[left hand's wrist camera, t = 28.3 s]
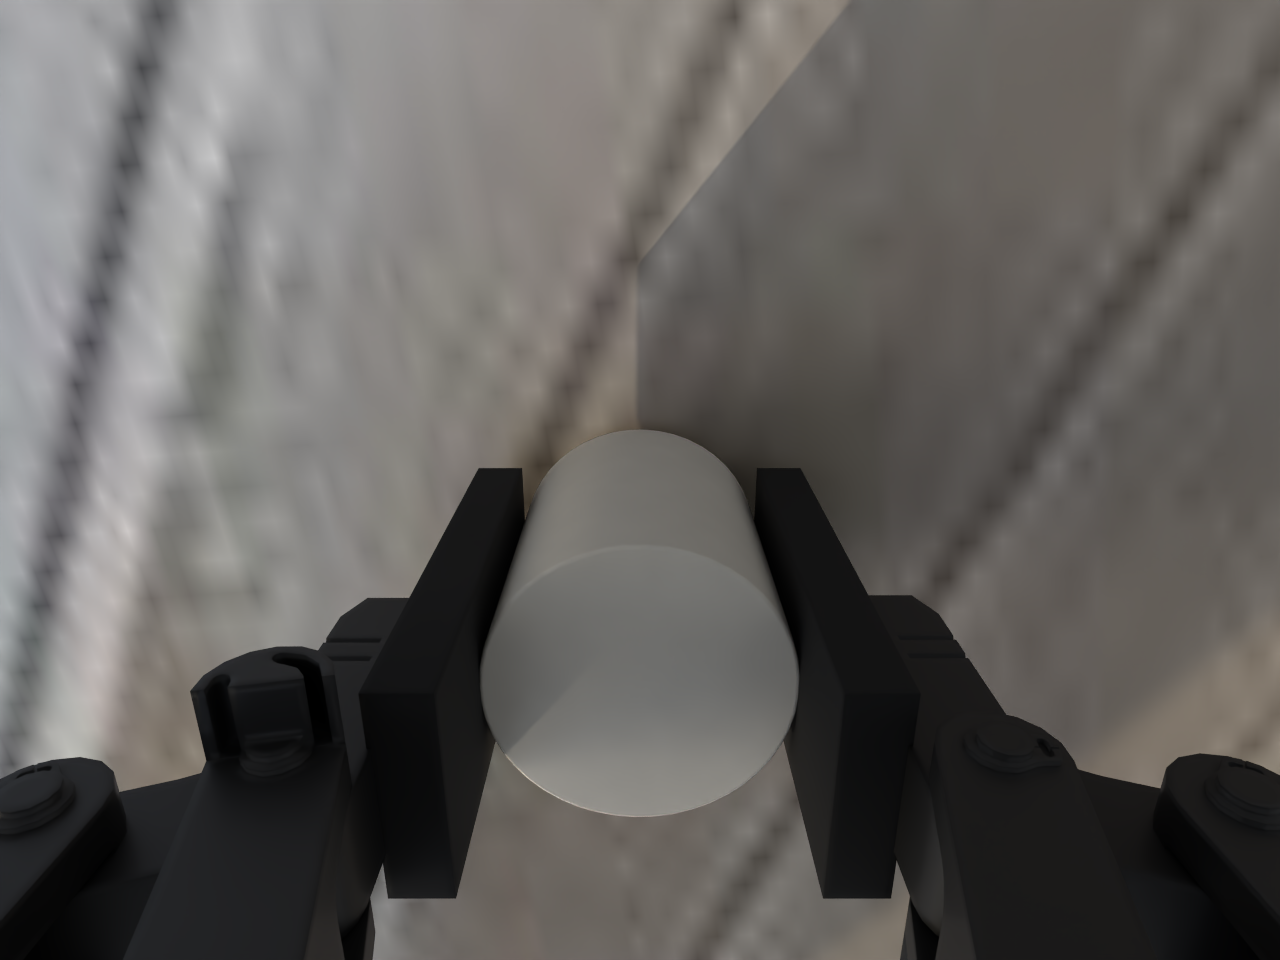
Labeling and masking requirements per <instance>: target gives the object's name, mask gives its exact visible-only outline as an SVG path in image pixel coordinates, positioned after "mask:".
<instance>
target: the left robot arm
mask: <svg viewBox="0 0 1280 960" xmlns="http://www.w3.org/2000/svg"><path fill="white" fill-rule="evenodd" d="M754 522H755V525H756V528H757V532H758V535H759V538H760V541H761V544H762V547H763V550H764V553H765V556H766V559H767V562H768V565H769V568H770V571H771V574H772V577H773V580H774V583H775V586H776V589H777V592H778V595H779V598H780V601H781V604H782V607H783V610H784V613H785V616H786V619H787V622H788V625H789V628H790V631H791V635H792V638H793V641H794V644H795V648H796V652H797V655H798V661H799V670H800V678H799V692H798V701H797V708H796V712H795V715H794V718H793V720H792V723H791V726H790V728H789V731H788V732H787V734H786V736H785V738H784V744H785V748H786V752H787V756H788V760H789V764H790V768H791V772H792V776H793V780H794V784H795V788H796V792H797V796H798V800H799V804H800V808H801V812H802V816H803V820H804V824H805V828H806V832H807V836H808V840H809V844H810V848H811V852H812V856H813V860H814V864H815V868H816V872H817V876H818V880H819V884H820V888H821V892H822V896H823V898H891V894H892V887H893V881H894V874H895V867H896V860H897V862H898V865H899V867H900V870H901V873H902V876H903V878H904V881H905V884H906V886H907V889H908V892H909V894H910V900H909V907H908V913H907V919H906V926H905V932H904V938H903V945H902V951H901V958H900V960H1280V775H1278V774H1276V773H1274V772H1272V771H1270V770H1268V769H1266V768H1264V767H1262V766H1260V765H1257V764H1254V763H1251V762H1248V761H1242V760H1241V759H1236V758H1232V757H1229V756H1220V755H1210V754H1194V755H1189V756H1183V757H1178V758H1177V759H1176V760H1175V761H1174V762H1173V763H1171V764H1170V765H1169V766H1168V767H1167V768H1166V771H1165V775H1164V778H1163V782H1162V785H1161V789H1160V788H1155V787H1150V786H1146V785H1141V784H1136V783H1132V782H1127V781H1122V780H1118V779H1113V778H1108V777H1103V776H1099V775H1096V774H1092V773H1089V772H1085V771H1082V770H1078V769H1077V767H1076V764H1075V762H1074V760H1073V758H1072V757H1071V756H1070V754H1069V753H1068V752H1067V750H1066V749H1065V747H1064V746H1063V745H1062V743H1061V742H1059V741H1058V740H1057V739H1055V738H1054V737H1053V736H1051V735H1050V734H1049V733H1047V732H1046V731H1045V730H1043V729H1042V728H1040V727H1038V726H1035V725H1033V724H1031V723H1029V722H1026V721H1024V720H1022V719H1020V718H1017V717H1014V716H1009V715H1006V714H1005V712H1004V711H1003V709H1002V708H1001V706H1000V705H999V703H998V702H997V700H996V699H995V697H994V696H993V694H992V693H991V691H990V690H989V688H988V687H987V685H986V684H985V682H984V681H983V679H982V678H981V676H980V675H979V673H978V672H977V670H976V669H975V667H974V666H973V664H972V663H971V661H970V660H969V658H965V653H964V651H963V650H962V648H961V647H960V645H959V644H958V642H957V641H956V640H953V635H952V633H951V632H950V630H949V629H948V627H947V626H946V624H945V623H944V621H943V620H942V618H941V617H940V615H939V614H938V613H937V612H935V611H934V610H932V609H931V608H929V607H928V606H926V605H925V604H923V603H922V602H921V601H919V600H918V599H916V598H915V597H913V596H912V595H868V594H867V592H866V590H865V588H864V586H863V584H862V583H861V581H860V579H859V577H858V575H857V573H856V571H855V570H854V568H853V566H852V564H851V562H850V560H849V558H848V556H847V555H846V553H845V551H844V549H843V547H842V545H841V543H840V541H839V540H838V538H837V536H836V534H835V532H834V530H833V528H832V527H831V525H830V523H829V521H828V519H827V517H826V515H825V513H824V512H823V510H822V508H821V506H820V504H819V502H818V500H817V498H816V497H815V495H814V493H813V491H812V489H811V487H810V485H809V483H808V482H807V480H806V478H805V476H804V474H803V472H802V470H801V469H800V468H757V480H756V499H755V517H754ZM524 523H525V515H524V497H523V478H522V468H479V469H478V471H477V472H476V474H475V476H474V478H473V480H472V482H471V484H470V486H469V487H468V489H467V491H466V493H465V495H464V497H463V499H462V500H461V502H460V504H459V506H458V508H457V510H456V512H455V514H454V515H453V517H452V519H451V521H450V523H449V525H448V527H447V528H446V530H445V532H444V534H443V536H442V538H441V540H440V542H439V543H438V545H437V547H436V549H435V551H434V553H433V555H432V557H431V558H430V560H429V562H428V564H427V566H426V568H425V570H424V571H423V573H422V575H421V577H420V579H419V581H418V583H417V585H416V586H415V588H414V590H413V592H412V594H411V596H410V598H367V599H366V600H364V601H363V602H361V603H360V604H358V605H357V606H355V607H354V608H353V609H351V610H350V611H348V612H347V613H345V614H344V615H342V616H341V617H340V619H339V620H338V622H337V623H336V625H335V626H334V628H333V629H332V631H331V632H330V634H329V635H328V637H327V638H326V643H323V644H322V646H321V647H320V649H319V650H318V651H317V650H313V649H310V648H306V647H273V648H268V649H263V650H258V651H253V652H249V653H247V654H244V655H241V656H239V657H236V658H234V659H231V660H229V661H226V662H224V663H222V664H221V665H219V666H218V667H216V668H215V669H213V670H211V671H210V672H208V673H207V674H205V675H204V676H203V677H202V678H201V679H200V680H199V681H198V683H197V684H196V685H195V686H194V687H193V689H192V690H191V691H190V693H191V697H192V701H193V705H194V710H195V714H196V718H197V723H198V727H199V731H200V735H201V740H202V744H203V748H204V752H205V757H206V763H205V766H204V768H203V771H202V773H200V774H196V775H192V776H189V777H185V778H182V779H178V780H174V781H169V782H164V783H160V784H155V785H150V786H146V787H141V788H136V789H132V790H127V791H122V792H119V789H118V786H117V782H116V779H115V775H114V772H113V771H112V770H111V769H110V768H109V767H108V766H107V765H105V764H104V763H103V762H102V761H98V760H93V759H87V758H82V757H77V758H67V759H57V760H50V761H47V762H43V763H38V764H37V765H31V766H28V767H26V768H23V769H20V770H18V771H16V772H14V773H12V774H10V775H8V776H6V777H4V778H2V779H0V960H372V959H373V949H374V940H375V927H374V920H373V913H372V907H371V900H370V896H371V893H372V891H373V888H374V885H375V883H376V880H377V877H378V874H379V872H380V869H381V866H382V864H383V866H384V873H385V880H386V887H387V894H388V898H456V896H457V892H458V888H459V884H460V880H461V876H462V872H463V868H464V864H465V860H466V856H467V852H468V848H469V844H470V840H471V836H472V832H473V828H474V824H475V820H476V816H477V812H478V808H479V804H480V800H481V796H482V792H483V788H484V784H485V780H486V776H487V772H488V768H489V764H490V761H491V757H492V753H493V749H494V745H495V741H496V740H495V738H494V737H493V734H492V732H491V730H490V728H489V725H488V723H487V721H486V718H485V714H484V711H483V707H482V702H481V692H480V662H481V657H482V652H483V647H484V644H485V641H486V638H487V635H488V632H489V629H490V626H491V623H492V620H493V617H494V614H495V611H496V608H497V605H498V602H499V599H500V596H501V593H502V590H503V587H504V584H505V581H506V578H507V575H508V571H509V568H510V565H511V562H512V559H513V556H514V553H515V550H516V547H517V544H518V541H519V538H520V535H521V532H522V529H523V526H524Z"/></svg>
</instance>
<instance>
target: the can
mask: <svg viewBox="0 0 1280 960" xmlns="http://www.w3.org/2000/svg"><path fill="white" fill-rule="evenodd" d="M799 678H800V670H799V661H798V655H797V652H796V648H795V644H794V641H793V638H792V635H791V631H790V628H789V625H788V622H787V619H786V616H785V613H784V610H783V607H782V604H781V601H780V598H779V595H778V592H777V589H776V586H775V583H774V580H773V577H772V574H771V571H770V568H769V565H768V562H767V559H766V556H765V553H764V550H763V547H762V544H761V541H760V538H759V535H758V532H757V528H756V525H755V522H754V519H753V516H752V513H751V510H750V507H749V504H748V501H747V499H746V497H745V494H744V492H743V490H742V488H741V486H740V484H739V483H738V481H737V480H736V478H735V476H734V475H733V474H732V473H731V471H730V470H729V469H728V468H727V467H726V465H725V464H723V463H722V462H721V461H720V460H719V459H718V458H717V457H716V456H715V455H713V454H712V453H711V452H709V451H708V450H706V449H705V448H703V447H702V446H700V445H698V444H696V443H694V442H692V441H690V440H688V439H686V438H683V437H680V436H677V435H675V434H670V433H666V432H661V431H654V430H644V429H643V430H625V431H618V432H612V433H609V434H605V435H602V436H598V437H596V438H594V439H591V440H589V441H587V442H584V443H583V444H581V445H579V446H578V447H576V448H574V449H573V450H571V451H570V452H568V453H567V454H566V455H565V456H563V457H562V458H561V459H560V460H559V461H558V462H557V463H556V464H555V465H554V466H553V467H552V468H551V469H550V470H549V471H548V473H547V474H546V475H545V477H544V478H543V480H542V481H541V483H540V484H539V486H538V488H537V490H536V492H535V494H534V496H533V499H532V502H531V505H530V508H529V511H528V514H527V517H526V520H525V523H524V526H523V529H522V532H521V535H520V538H519V541H518V544H517V547H516V550H515V553H514V556H513V559H512V562H511V565H510V568H509V571H508V575H507V578H506V581H505V584H504V587H503V590H502V593H501V596H500V599H499V602H498V605H497V608H496V611H495V614H494V617H493V620H492V623H491V626H490V629H489V632H488V635H487V638H486V641H485V644H484V647H483V652H482V657H481V662H480V692H481V702H482V707H483V711H484V714H485V718H486V721H487V723H488V725H489V728H490V730H491V732H492V734H493V737H494V738H495V740H496V742H497V743H498V745H499V746H500V748H501V750H502V751H503V753H504V754H505V755H506V756H507V758H508V759H509V760H510V761H511V762H512V764H513V765H514V766H515V767H516V768H517V769H518V770H519V771H520V772H521V773H522V774H524V775H525V776H526V777H527V778H528V779H529V780H531V781H532V782H533V783H535V784H536V785H537V786H539V787H540V788H542V789H543V790H545V791H546V792H548V793H550V794H552V795H554V796H555V797H557V798H559V799H561V800H563V801H566V802H568V803H571V804H573V805H575V806H578V807H581V808H584V809H588V810H591V811H595V812H599V813H605V814H610V815H616V816H629V817H653V816H662V815H669V814H675V813H679V812H684V811H688V810H692V809H695V808H698V807H701V806H703V805H706V804H709V803H711V802H713V801H716V800H718V799H720V798H722V797H724V796H726V795H728V794H729V793H731V792H732V791H734V790H736V789H737V788H739V787H740V786H742V785H743V784H745V783H746V782H747V781H748V780H750V779H751V778H752V777H753V776H754V775H756V774H757V773H758V772H759V771H760V770H761V769H762V768H763V767H764V766H765V765H766V764H767V762H768V761H769V760H770V759H771V758H772V756H773V755H774V754H775V752H776V751H777V750H778V748H779V747H780V745H781V744H782V742H783V740H784V738H785V736H786V734H787V732H788V731H789V728H790V726H791V723H792V720H793V718H794V715H795V712H796V708H797V701H798V692H799Z"/></svg>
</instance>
